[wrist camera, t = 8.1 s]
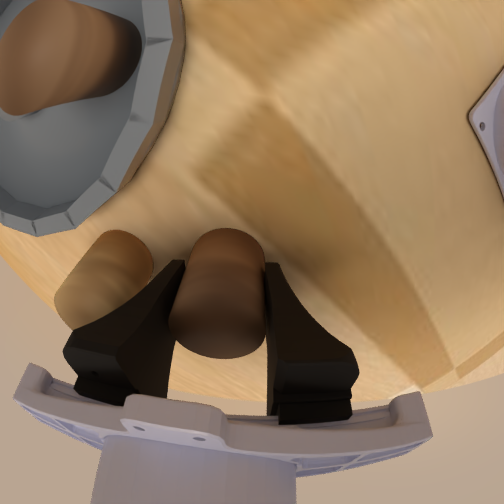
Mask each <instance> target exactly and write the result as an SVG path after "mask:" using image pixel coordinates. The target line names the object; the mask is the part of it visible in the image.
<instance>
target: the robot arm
mask: <svg viewBox="0 0 504 504" xmlns="http://www.w3.org/2000/svg"><path fill="white" fill-rule="evenodd" d="M469 120H470V123H471V125H472V127H473V129H474V131H475V132H476V134H477V136H478V138H479V140H480V142H481V144H482V146H483V148H484V150H485V153H486V155H487V157H488V159H489V161H490V164H491V166H492V168H493V171H494V173H495V176H496V178H497V181H498V183H499V186H500V189H501V192H502V194H503V197H504V69H503V70H502V72H501V73H500V74H499V76H498V77H497V78H496V80H495V81H494V82H493V84H492V85H491V86H490V87H489V89H488V90H487V91H486V93H485V94H484V95H483V96H482V98H481V99H480V100H479V101H478V103H477V104H476V105H475V106H474V108H473V109H472V110H471V111H470V113H469ZM480 123H481V127H480ZM185 269H186V268H185V261H184V260H172V261H171V262H170V263H169V264H168V265H167V266H166V267H165V268H164V269H163V270H162V271H161V272H160V273H159V274H158V275H157V276H156V277H155V278H154V279H153V280H152V281H151V282H150V283H149V284H148V285H146V286H145V287H144V288H143V289H142V290H141V291H140V292H139V293H137V294H136V295H135V296H134V297H132V298H131V299H130V300H128V301H127V302H126V303H124V304H123V305H121V306H120V307H118V308H117V309H115V310H113V311H112V312H110V313H109V314H107V315H105V316H103V317H101V318H99V319H97V320H95V321H93V322H91V323H89V324H86V325H84V326H82V327H79V328H77V329H74V330H73V332H72V333H71V335H70V337H69V339H68V341H67V343H66V345H65V347H64V349H63V355H64V358H65V359H66V361H67V362H68V364H69V365H70V366H71V367H72V369H73V370H74V371H75V372H76V374H77V375H78V378H77V380H76V382H75V385H72V384H69V383H66V382H63V381H60V380H58V379H55V378H53V377H52V376H51V374H50V373H49V372H48V371H47V370H46V369H44V368H42V367H40V366H37V365H35V364H32V363H29V365H28V366H27V369H26V370H25V373H24V374H23V377H22V379H21V381H20V383H19V385H18V387H17V390H16V392H15V394H14V396H13V400H15V402H17V403H18V404H19V405H20V406H21V407H23V408H24V409H25V410H26V411H27V412H28V413H30V414H31V415H32V416H33V417H35V418H36V419H37V420H38V421H40V422H42V423H44V424H46V425H48V426H50V427H52V428H54V429H56V430H58V431H60V432H62V433H64V434H66V435H68V436H70V437H72V438H74V439H76V440H79V441H81V442H83V443H86V444H88V445H90V446H92V447H95V448H97V449H100V450H102V453H101V457H100V461H99V465H98V469H97V474H96V478H95V484H94V488H93V493H92V498H91V504H296V477H304V476H313V475H319V474H326V473H331V472H337V471H342V470H347V469H352V468H356V467H360V466H364V465H368V464H373V463H376V462H380V461H384V460H387V459H391V458H395V457H398V456H402V455H405V454H407V453H409V452H410V451H412V450H414V449H415V448H417V447H419V446H420V445H422V444H423V443H425V442H427V441H428V440H430V439H431V438H432V437H433V434H432V430H431V427H430V423H429V419H428V416H427V412H426V409H425V406H424V402H423V399H422V396H421V393H420V392H419V391H417V392H413V393H409V394H404V395H400V396H397V397H395V398H394V399H393V400H392V401H391V402H390V403H389V405H384V406H378V407H373V408H366V409H360V410H352V407H351V402H350V399H351V398H352V393H351V388H352V386H353V384H354V383H355V381H356V380H357V378H358V376H359V368H358V364H357V361H356V358H355V356H354V354H353V351H352V349H351V348H350V347H348V346H347V345H345V344H344V343H342V342H341V341H339V340H338V339H336V338H335V337H334V336H332V335H331V334H330V333H329V332H327V331H326V330H325V329H324V328H323V327H322V326H321V325H320V324H319V323H318V322H317V321H316V320H315V319H314V318H313V317H312V316H311V315H310V314H309V313H308V311H307V310H306V309H305V308H304V307H303V305H302V304H301V303H300V301H299V300H298V298H297V297H296V295H295V294H294V292H293V291H292V289H291V287H290V286H289V284H288V282H287V280H286V279H285V277H284V275H283V272H282V270H281V268H280V265H279V264H278V263H272V262H265V273H264V274H265V317H266V342H267V416H247V415H226V414H224V413H223V412H222V411H221V410H220V409H218V408H216V407H214V406H211V405H207V404H202V403H195V402H186V401H179V400H172V399H167V392H168V382H169V375H170V368H171V361H172V356H173V350H174V346H175V342H176V339H175V338H174V337H173V335H172V333H171V331H170V329H169V321H168V320H169V316H170V313H171V310H172V307H173V304H174V301H175V298H176V295H177V292H178V289H179V286H180V283H181V280H182V277H183V275H184V272H185Z"/></svg>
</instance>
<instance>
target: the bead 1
mask: <svg viewBox="0 0 504 504" xmlns="http://www.w3.org/2000/svg"><path fill="white" fill-rule="evenodd" d="M141 52H142V39H141V35H140V32H139V30H138V29H137V27H136V26H135V25H134V24H133V23H132V22H131V21H129V20H127V19H125V18H122V17H119V16H117V15H114V14H111V13H109V12H106V11H103V10H100V9H97V8H94V7H91V6H87V5H84V4H81V3H77V2H73V1H70V0H36V1H34V2H32V3H31V4H29V5H28V6H27V7H25V8H24V9H23V10H22V11H21V12H20V13H19V14H18V15H17V16H16V17H15V18H14V19H13V21H12V22H11V23H10V25H9V26H8V28H7V29H6V31H5V33H4V34H3V36H2V38H1V40H0V108H1V109H2V110H3V111H4V112H6V113H7V114H9V115H13V116H20V115H24V114H27V113H30V112H34V111H37V110H41V109H45V108H48V107H52V106H56V105H60V104H65V103H69V102H74V101H79V100H84V99H90V98H96V97H102V96H106V95H108V94H111V93H113V92H115V91H116V90H118V89H119V88H120V87H122V86H123V85H124V84H125V83H126V82H127V81H128V80H129V78H130V77H131V76H132V74H133V73H134V71H135V69H136V67H137V66H138V63H139V60H140V57H141Z"/></svg>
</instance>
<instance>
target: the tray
mask: <svg viewBox="0 0 504 504" xmlns="http://www.w3.org/2000/svg"><path fill="white" fill-rule="evenodd" d="M34 1H36V0H0V40H1V38H2V36H3V34H4V33H5V31H6V29H7V28H8V26H9V25H10V23H11V22H12V21H13V19H14V18H15V17H16V16H17V15H18V14H19V13H20V12H21V11H22V10H23V9H24V8H25V7H27V6H28V5H29V4H31V3H32V2H34ZM70 1H73V2H77V3H81V4H84V5H87V6H91V7H94V8H97V9H100V10H103V11H106V12H109V13H111V14H114V15H117V16H119V17H122V18H125V19H127V20H129V21H131V22H132V23H133V24H134V25H135V26H136V27H137V29H138V30H139V32H140V35H141V39H142V52H141V57H140V60H139V63H138V66H137V67H136V69H135V71H134V73H133V74H132V76H131V77H130V78H129V80H128V81H127V82H126V83H125V84H124V85H123V86H122V87H120V88H119V89H118V90H116V91H115V92H113V93H111V94H108V95H106V96H102V97H96V98H90V99H84V100H79V101H74V102H69V103H65V104H60V105H56V106H52V107H48V108H45V109H41V110H37V111H34V112H30V113H27V114H24V115H20V116H13V115H9V114H7V113H6V112H4V111H3V110H2V109H1V108H0V223H2V224H3V225H4V226H7V227H9V228H12V229H15V230H18V231H21V232H24V233H27V234H30V235H33V236H36V237H39V236H44V235H48V234H53V233H57V232H62V231H67V230H72V229H76V228H77V227H78V226H79V225H80V224H81V223H82V222H83V221H84V220H85V219H86V218H88V217H89V216H90V215H91V214H92V213H93V212H94V211H95V210H97V209H98V208H99V207H100V206H101V205H102V204H103V203H105V202H106V201H107V200H108V199H109V198H110V197H112V196H113V195H114V194H115V193H117V192H118V191H119V190H120V189H121V188H122V187H123V186H125V185H126V184H127V183H128V182H129V181H130V180H131V178H132V176H133V174H134V173H135V171H136V170H137V169H138V168H139V167H140V165H141V164H142V163H143V161H144V159H145V158H146V156H147V155H148V153H149V152H150V150H151V149H152V148H153V146H154V144H155V142H156V140H157V138H158V136H159V134H160V132H161V131H162V129H163V127H164V124H165V122H166V119H167V117H168V114H169V112H170V110H171V107H172V105H173V101H174V98H175V95H176V91H177V88H178V85H179V82H180V76H181V71H182V66H183V61H184V50H185V38H186V35H185V18H184V12H183V7H182V3H181V0H70Z"/></svg>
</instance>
